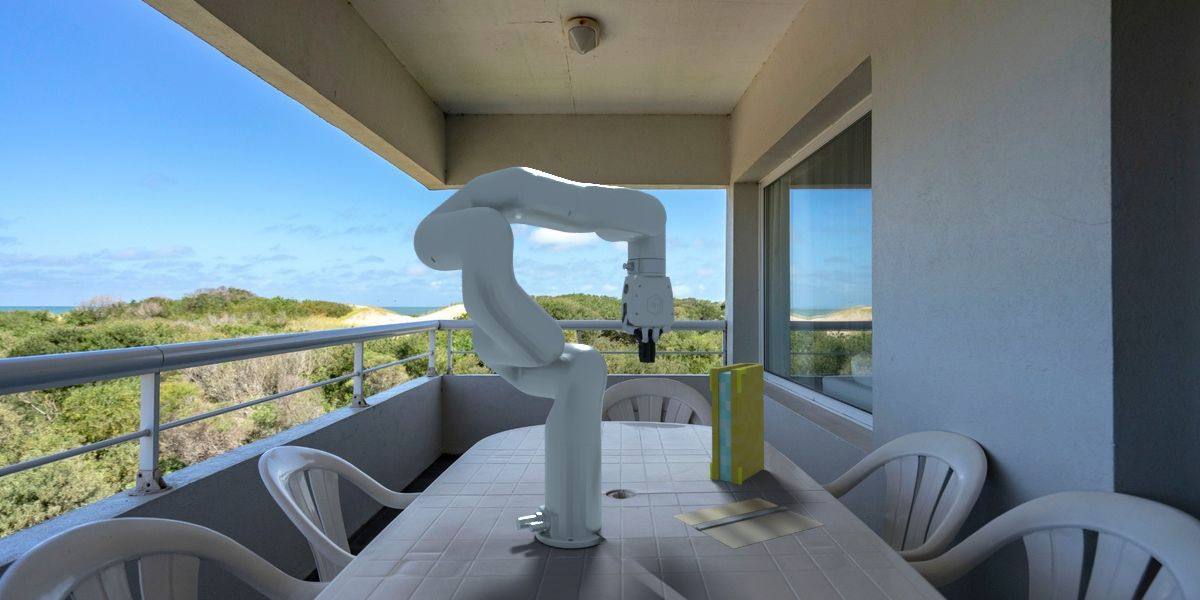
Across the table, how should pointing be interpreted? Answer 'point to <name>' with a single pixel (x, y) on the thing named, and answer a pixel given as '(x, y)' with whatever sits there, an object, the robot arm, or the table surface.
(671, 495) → the table surface
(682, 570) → the table surface
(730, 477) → the book
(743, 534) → the laid plank
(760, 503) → the board
